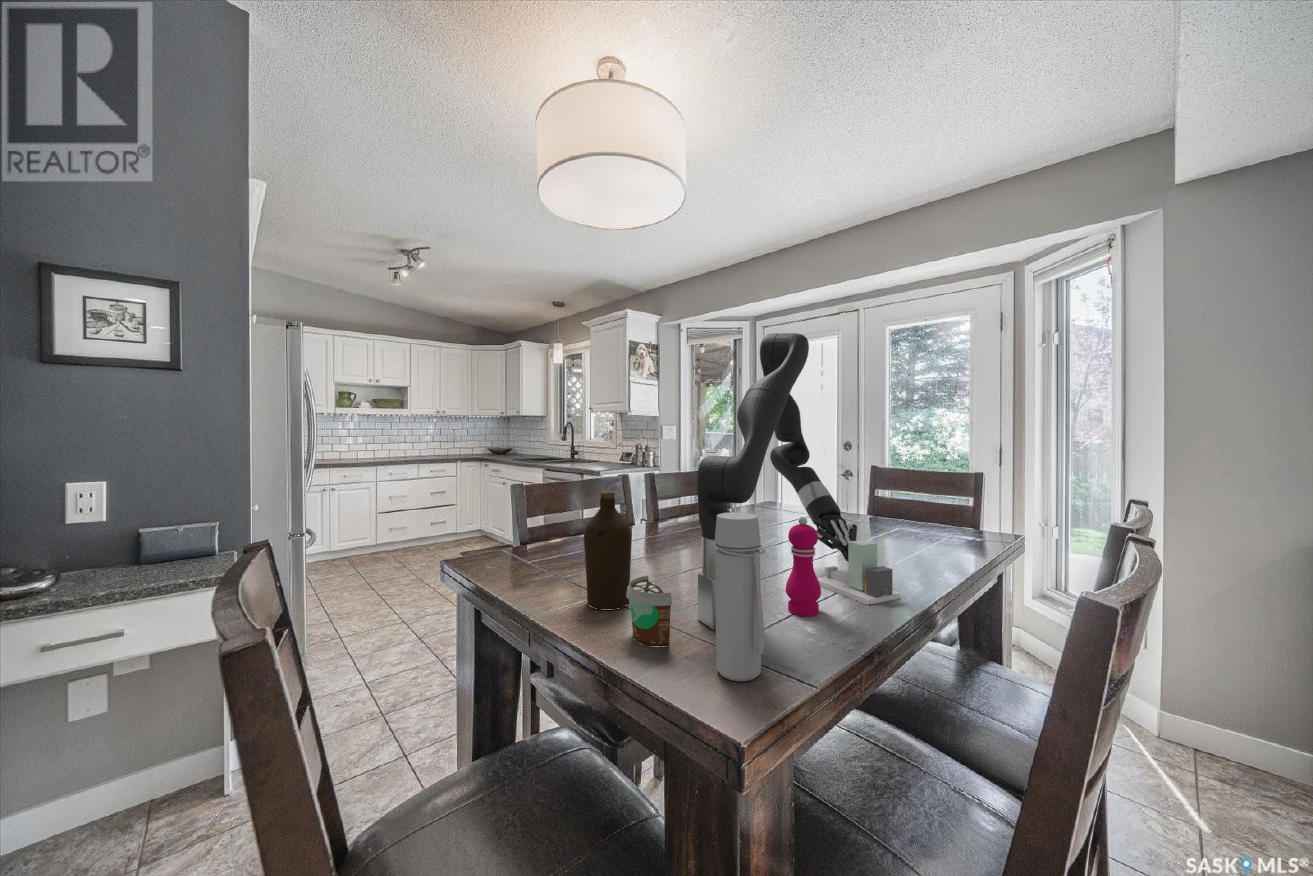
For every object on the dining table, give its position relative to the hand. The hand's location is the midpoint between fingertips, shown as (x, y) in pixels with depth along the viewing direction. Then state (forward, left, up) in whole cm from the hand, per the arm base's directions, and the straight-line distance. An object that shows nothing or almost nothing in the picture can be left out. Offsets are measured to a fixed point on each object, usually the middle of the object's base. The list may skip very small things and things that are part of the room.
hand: (854, 561), depth 119 cm
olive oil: (-56, +16, -7) cm, 59 cm away
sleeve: (0, -3, -5) cm, 6 cm away
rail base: (0, 0, -7) cm, 7 cm away
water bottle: (-47, -24, -7) cm, 53 cm away
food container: (-56, -5, -7) cm, 57 cm away
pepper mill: (-20, -6, -7) cm, 22 cm away
